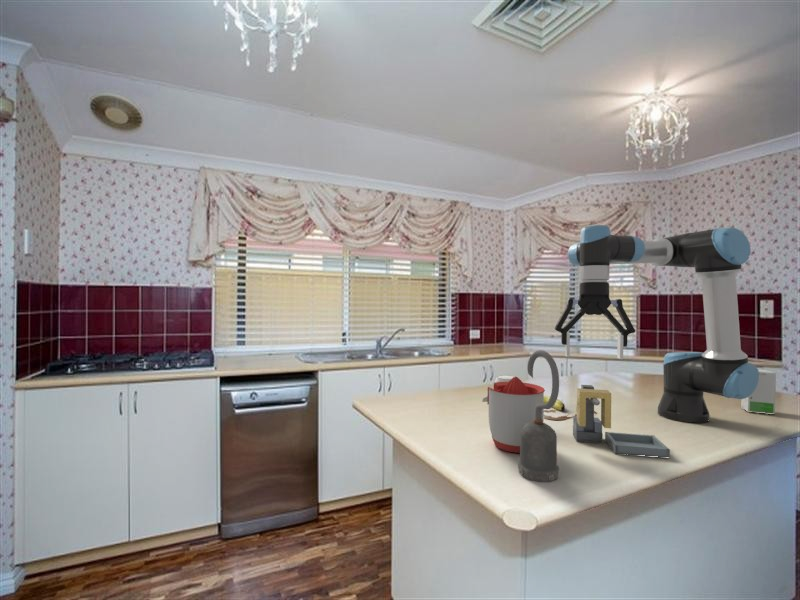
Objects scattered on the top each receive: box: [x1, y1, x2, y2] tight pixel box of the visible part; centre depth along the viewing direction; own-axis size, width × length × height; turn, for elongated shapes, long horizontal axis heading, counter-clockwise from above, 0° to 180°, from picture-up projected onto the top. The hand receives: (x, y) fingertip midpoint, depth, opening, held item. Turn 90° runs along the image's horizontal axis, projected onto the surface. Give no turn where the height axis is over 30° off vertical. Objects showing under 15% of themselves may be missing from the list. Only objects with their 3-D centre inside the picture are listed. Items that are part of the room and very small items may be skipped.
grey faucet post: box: [572, 384, 604, 445], centre depth 116 cm, size 7×14×16 cm, turn 166°
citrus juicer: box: [481, 376, 546, 454], centre depth 115 cm, size 16×17×20 cm
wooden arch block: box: [576, 388, 612, 429], centre depth 112 cm, size 8×4×10 cm, turn 76°
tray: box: [604, 431, 671, 457], centre depth 112 cm, size 13×11×2 cm
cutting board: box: [544, 394, 598, 421], centre depth 157 cm, size 35×27×4 cm
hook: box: [517, 349, 560, 483], centre depth 96 cm, size 10×12×30 cm
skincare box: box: [740, 369, 777, 414], centre depth 149 cm, size 8×7×16 cm
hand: (593, 357), depth 112 cm, fingers open, 13 cm apart
